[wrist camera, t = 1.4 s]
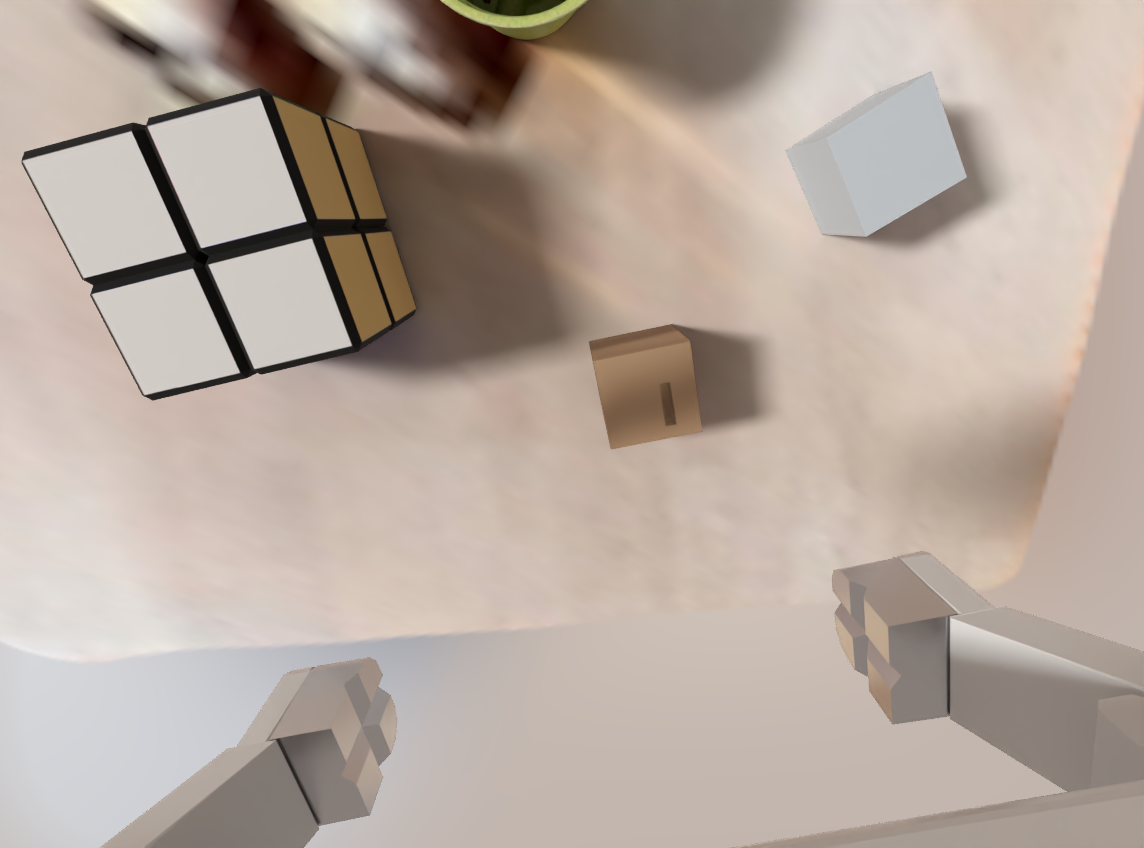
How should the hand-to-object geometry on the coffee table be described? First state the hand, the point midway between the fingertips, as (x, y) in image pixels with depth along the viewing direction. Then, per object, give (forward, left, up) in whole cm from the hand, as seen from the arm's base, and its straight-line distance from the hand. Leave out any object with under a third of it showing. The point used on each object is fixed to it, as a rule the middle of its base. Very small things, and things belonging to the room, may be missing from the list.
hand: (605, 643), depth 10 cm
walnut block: (+3, +3, -25) cm, 25 cm away
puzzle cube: (-8, -14, -25) cm, 30 cm away
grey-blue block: (-6, +16, -25) cm, 31 cm away
